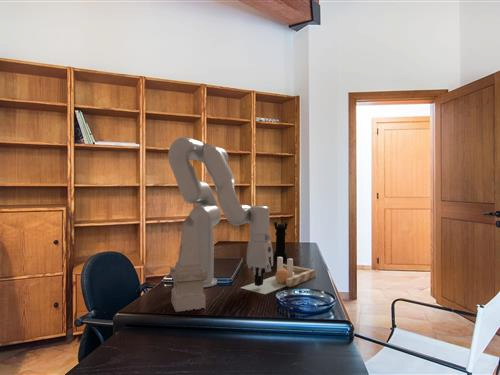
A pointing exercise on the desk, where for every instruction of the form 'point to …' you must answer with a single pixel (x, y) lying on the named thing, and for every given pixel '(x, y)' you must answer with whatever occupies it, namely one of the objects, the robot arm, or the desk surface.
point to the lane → (266, 286)
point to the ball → (282, 275)
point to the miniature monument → (188, 272)
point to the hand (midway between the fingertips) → (258, 285)
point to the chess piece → (280, 241)
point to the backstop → (299, 275)
